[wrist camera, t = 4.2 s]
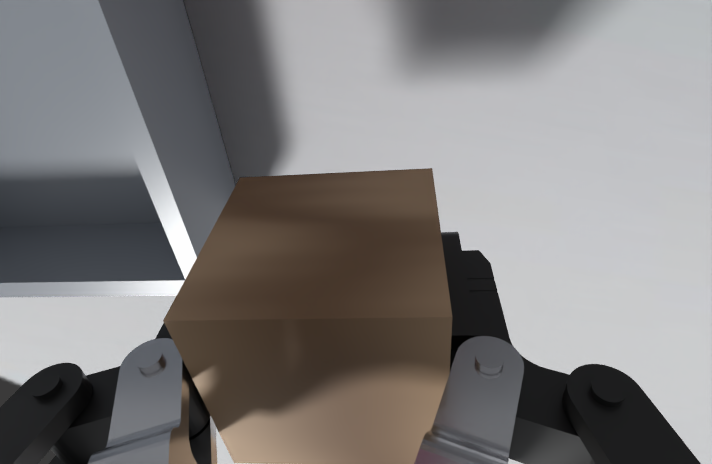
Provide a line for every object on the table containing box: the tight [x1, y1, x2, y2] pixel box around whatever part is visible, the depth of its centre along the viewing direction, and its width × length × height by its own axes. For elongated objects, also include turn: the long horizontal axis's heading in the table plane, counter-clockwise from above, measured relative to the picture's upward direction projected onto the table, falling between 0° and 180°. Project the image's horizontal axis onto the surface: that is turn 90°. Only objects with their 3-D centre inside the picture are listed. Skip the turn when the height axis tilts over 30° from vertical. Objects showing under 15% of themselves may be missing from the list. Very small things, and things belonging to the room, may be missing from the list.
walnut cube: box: [163, 168, 452, 464], centre depth 11 cm, size 5×5×5 cm
